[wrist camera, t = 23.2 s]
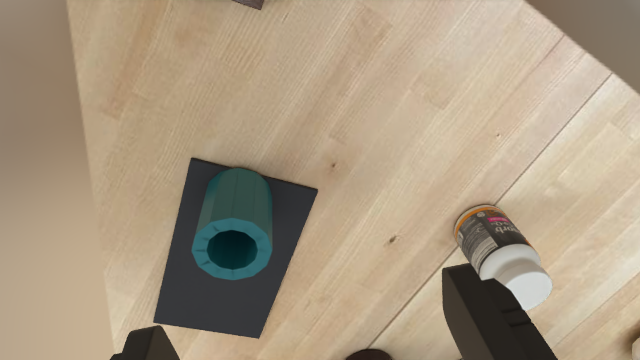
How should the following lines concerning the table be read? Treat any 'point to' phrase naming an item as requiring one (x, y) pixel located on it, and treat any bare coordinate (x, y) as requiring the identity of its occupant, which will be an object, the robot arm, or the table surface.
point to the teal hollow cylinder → (234, 225)
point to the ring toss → (251, 3)
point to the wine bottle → (370, 355)
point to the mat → (217, 293)
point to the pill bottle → (502, 254)
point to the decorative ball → (636, 350)
